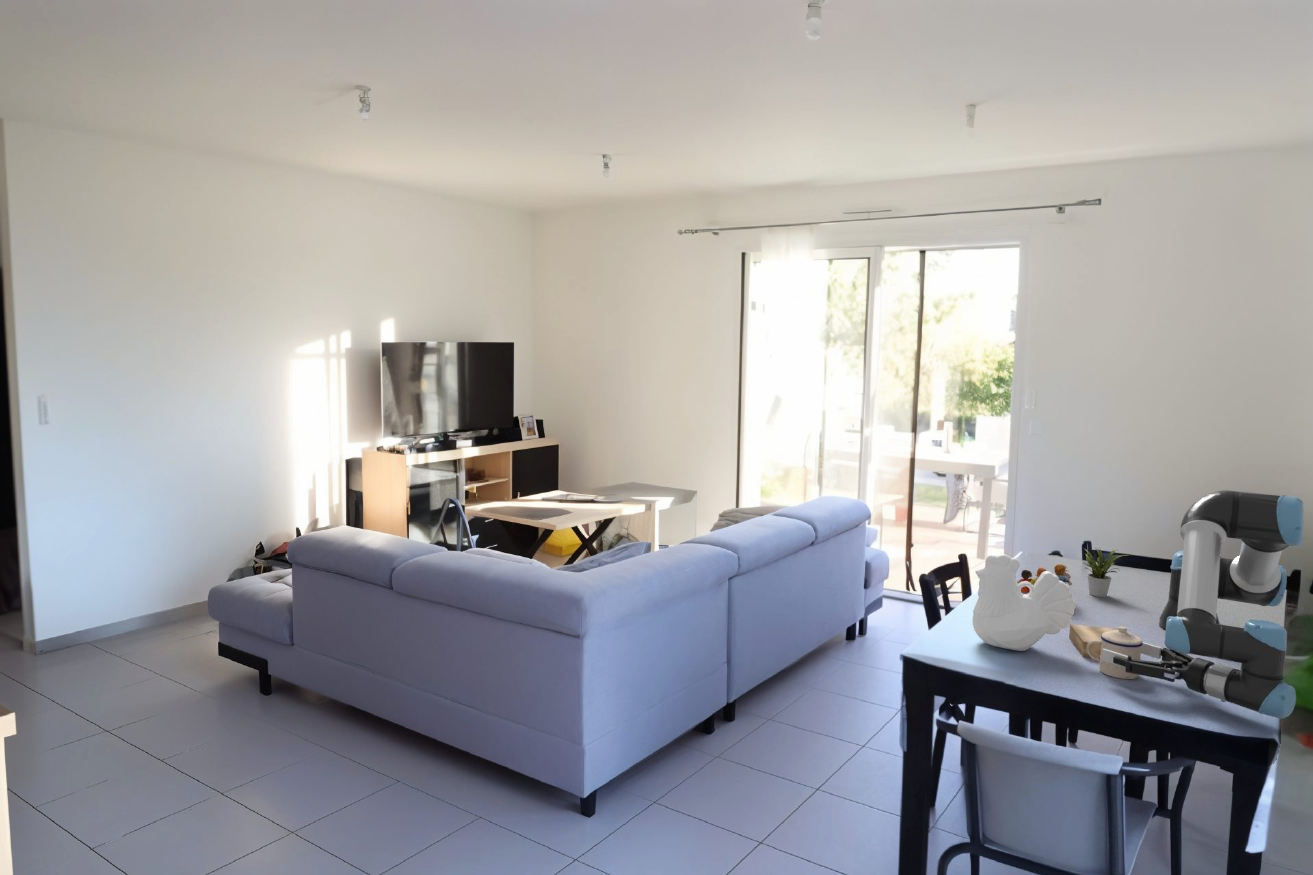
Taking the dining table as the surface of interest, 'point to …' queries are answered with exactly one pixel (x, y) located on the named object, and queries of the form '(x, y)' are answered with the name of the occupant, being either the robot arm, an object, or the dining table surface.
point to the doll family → (1026, 574)
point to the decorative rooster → (1018, 605)
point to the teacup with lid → (1118, 651)
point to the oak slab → (1087, 638)
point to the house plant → (1100, 573)
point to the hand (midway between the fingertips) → (1118, 649)
